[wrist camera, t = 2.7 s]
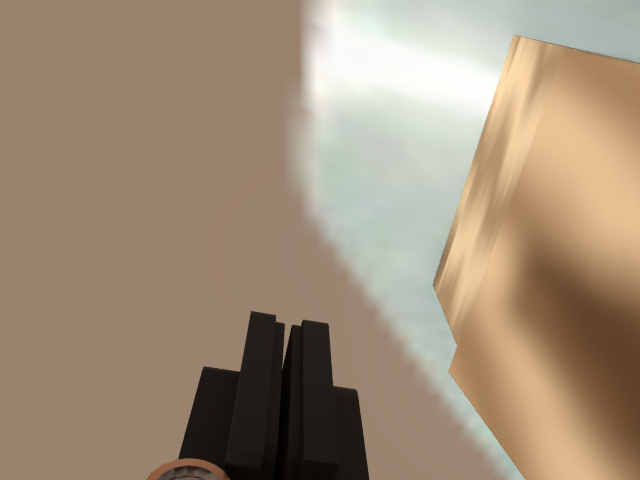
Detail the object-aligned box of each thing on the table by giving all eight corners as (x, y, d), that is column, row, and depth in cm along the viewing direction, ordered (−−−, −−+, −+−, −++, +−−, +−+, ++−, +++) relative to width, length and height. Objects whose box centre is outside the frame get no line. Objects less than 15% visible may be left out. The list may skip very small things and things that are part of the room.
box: (514, 34, 27) (587, 53, 20) (775, 93, 29) (933, 130, 21) (432, 284, 33) (466, 369, 26) (654, 324, 34) (747, 416, 27)
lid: (588, 53, 20) (561, 47, 20) (1255, 213, 8) (1219, 204, 8) (467, 371, 26) (444, 371, 25) (752, 745, 14) (716, 757, 13)
